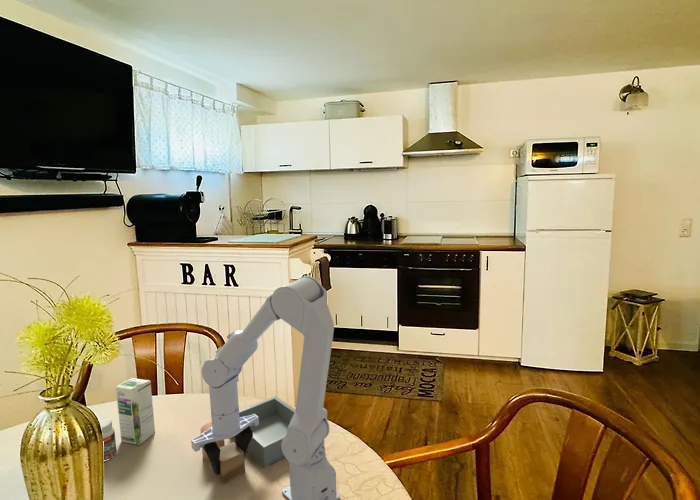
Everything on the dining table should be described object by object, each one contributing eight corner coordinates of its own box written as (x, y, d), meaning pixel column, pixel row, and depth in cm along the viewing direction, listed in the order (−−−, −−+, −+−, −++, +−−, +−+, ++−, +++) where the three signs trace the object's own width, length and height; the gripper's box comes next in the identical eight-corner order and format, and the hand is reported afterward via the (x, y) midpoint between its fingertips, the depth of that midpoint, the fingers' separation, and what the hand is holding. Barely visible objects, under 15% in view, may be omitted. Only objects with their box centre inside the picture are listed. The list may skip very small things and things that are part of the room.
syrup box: (120, 442, 105) (113, 387, 103) (138, 429, 111) (132, 376, 108) (139, 445, 103) (133, 390, 101) (156, 432, 109) (151, 379, 107)
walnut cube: (245, 472, 93) (243, 452, 92) (223, 483, 90) (222, 462, 89) (234, 461, 97) (233, 441, 96) (213, 472, 94) (212, 451, 93)
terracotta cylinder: (228, 455, 99) (227, 428, 98) (208, 465, 96) (205, 436, 95) (219, 446, 103) (217, 419, 102) (199, 455, 100) (197, 427, 98)
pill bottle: (106, 464, 97) (102, 430, 96) (88, 461, 98) (84, 428, 97) (121, 451, 102) (118, 418, 100) (104, 449, 102) (100, 417, 101)
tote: (315, 442, 104) (315, 423, 103) (264, 467, 95) (263, 447, 94) (276, 413, 117) (275, 396, 116) (228, 433, 108) (227, 414, 107)
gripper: (246, 390, 99) (250, 444, 101) (183, 413, 89) (188, 472, 91) (262, 402, 93) (265, 458, 95) (196, 427, 84) (202, 489, 86)
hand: (229, 466), depth 93 cm, fingers closed on walnut cube, 5 cm apart
